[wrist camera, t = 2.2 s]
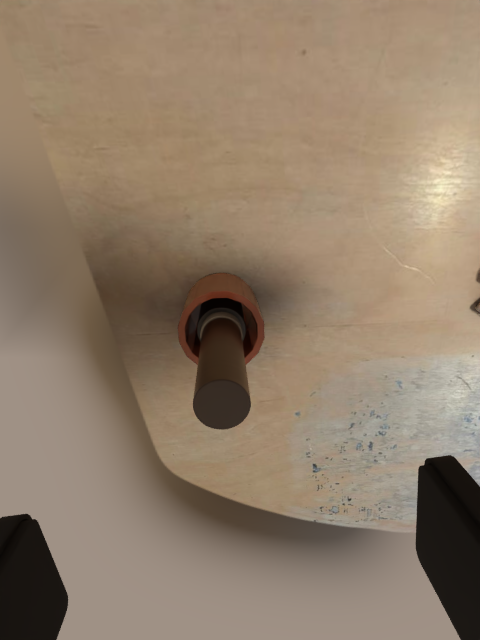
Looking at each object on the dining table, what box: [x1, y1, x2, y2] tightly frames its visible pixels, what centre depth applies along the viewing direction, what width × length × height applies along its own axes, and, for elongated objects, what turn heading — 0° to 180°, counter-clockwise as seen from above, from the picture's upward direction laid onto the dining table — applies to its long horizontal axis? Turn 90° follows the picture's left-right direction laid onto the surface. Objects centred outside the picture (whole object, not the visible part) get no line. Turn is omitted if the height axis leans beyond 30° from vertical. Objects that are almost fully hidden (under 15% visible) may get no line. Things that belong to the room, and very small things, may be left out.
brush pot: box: [178, 273, 264, 365], centre depth 30 cm, size 6×6×6 cm
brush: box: [193, 298, 251, 429], centre depth 25 cm, size 4×4×15 cm
